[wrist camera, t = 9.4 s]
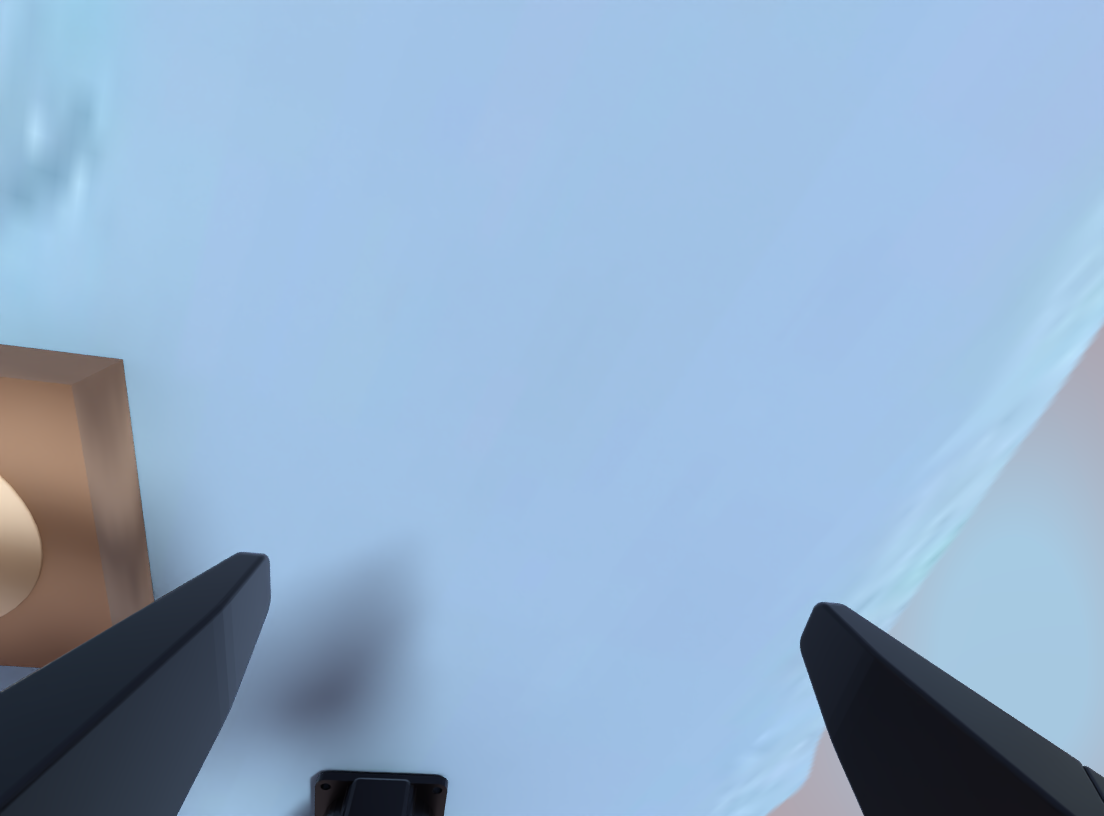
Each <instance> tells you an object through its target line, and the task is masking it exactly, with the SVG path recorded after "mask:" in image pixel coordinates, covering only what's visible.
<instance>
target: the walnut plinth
mask: <svg viewBox="0 0 1104 816" xmlns="http://www.w3.org/2000/svg"><path fill="white" fill-rule="evenodd" d="M152 602H154V596H153V589H152V581H151V573H150V565H149V558H148V550H147V542H146V535H145V527H144V519H143V512H142V504H141V496H140V489H139V481H138V473H137V466H136V458H135V450H134V442H133V435H132V427H131V419H130V412H129V404H128V396H127V389H126V381H125V373H124V366H123V360H122V359H114V358H106V357H98V356H90V355H82V354H74V353H66V352H58V351H50V350H42V349H34V348H26V347H18V346H10V345H2V344H0V665H2V666H19V667H37V668H42V667H44V666H45V665H47V664H49V663H50V662H52V661H54V660H55V659H57V658H59V657H61V656H62V655H64V654H66V653H67V652H69V651H71V650H72V649H74V648H76V647H78V646H79V645H81V644H83V643H84V642H86V641H88V640H89V639H91V638H93V637H95V636H96V635H98V634H100V633H101V632H103V631H105V630H106V629H108V628H110V627H112V626H113V625H115V624H117V623H118V622H120V621H122V620H124V619H125V618H127V617H129V616H130V615H132V614H134V613H135V612H137V611H139V610H141V609H142V608H144V607H146V606H147V605H149V604H151V603H152Z"/></svg>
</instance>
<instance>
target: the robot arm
mask: <svg viewBox="0 0 1104 816" xmlns="http://www.w3.org/2000/svg"><path fill="white" fill-rule="evenodd" d="M270 599H271V588H270V561H269V558H268V556H266V555H265V554H261V553H250V552H239V553H236V554H234V555H232V556H231V557H229V558H227V559H226V560H224V561H222V562H220V563H219V564H217V565H215V566H214V567H212V568H210V569H209V570H207V571H205V572H203V573H202V574H200V575H198V576H197V577H195V578H193V579H192V580H190V581H188V582H186V583H185V584H183V585H181V586H180V587H178V588H176V589H175V590H173V591H171V592H169V593H168V594H166V595H164V596H163V597H161V598H159V599H158V600H156V601H154V602H152V603H151V604H149V605H147V606H146V607H144V608H142V609H141V610H139V611H137V612H135V613H134V614H132V615H130V616H129V617H127V618H125V619H124V620H122V621H120V622H118V623H117V624H115V625H113V626H112V627H110V628H108V629H106V630H105V631H103V632H101V633H100V634H98V635H96V636H95V637H93V638H91V639H89V640H88V641H86V642H84V643H83V644H81V645H79V646H78V647H76V648H74V649H72V650H71V651H69V652H67V653H66V654H64V655H62V656H61V657H59V658H57V659H55V660H54V661H52V662H50V663H49V664H47V665H45V666H44V667H42V668H40V669H38V670H37V671H35V672H33V673H32V674H30V675H28V676H27V677H25V678H23V679H21V680H20V681H18V682H16V683H15V684H13V685H11V686H10V687H8V688H6V689H4V690H3V691H1V692H0V816H177V814H178V812H179V810H180V808H181V806H182V804H183V802H184V800H185V798H186V796H187V794H188V792H189V790H190V788H191V787H192V785H193V783H194V781H195V779H196V777H197V775H198V773H199V771H200V769H201V767H202V765H203V763H204V761H205V759H206V757H207V755H208V753H209V751H210V749H211V747H212V745H213V744H214V742H215V740H216V738H217V736H218V734H219V732H220V730H221V728H222V726H223V724H224V722H225V720H226V717H227V715H228V713H229V711H230V709H231V706H232V704H233V701H234V699H235V697H236V694H237V692H238V689H239V686H240V684H241V681H242V678H243V676H244V673H245V671H246V668H247V665H248V663H249V660H250V658H251V655H252V652H253V650H254V647H255V645H256V642H257V639H258V637H259V634H260V631H261V629H262V626H263V624H264V621H265V618H266V616H267V613H268V610H269V606H270ZM800 649H801V654H802V657H803V660H804V663H805V666H806V669H807V672H808V675H809V678H810V681H811V683H812V686H813V689H814V692H815V695H816V698H817V701H818V704H819V707H820V710H821V713H822V716H823V719H824V722H825V725H826V728H827V730H828V733H829V736H830V739H831V741H832V743H833V746H834V748H835V751H836V753H837V756H838V758H839V760H840V763H841V765H842V767H843V769H844V771H845V774H846V776H847V778H848V781H849V783H850V785H851V788H852V790H853V792H854V794H855V796H856V799H857V801H858V803H859V806H860V808H861V810H862V812H863V815H864V816H1104V777H1102V776H1101V775H1099V774H1098V773H1096V772H1095V771H1093V770H1092V769H1090V768H1089V767H1087V766H1082V764H1081V763H1080V762H1079V761H1078V760H1077V759H1075V758H1074V757H1072V756H1071V755H1069V754H1068V753H1066V752H1065V751H1063V750H1062V749H1060V748H1058V747H1057V746H1055V745H1054V744H1053V743H1051V742H1050V741H1048V740H1047V739H1045V738H1044V737H1042V736H1041V735H1039V734H1037V733H1036V732H1034V731H1033V730H1032V729H1030V728H1028V727H1027V726H1025V725H1024V724H1022V723H1021V722H1020V721H1018V720H1017V719H1015V718H1014V717H1012V716H1011V715H1009V714H1007V713H1006V712H1004V711H1003V710H1002V709H1000V708H998V707H997V706H995V705H994V704H992V703H991V702H989V701H988V700H986V699H985V698H983V697H982V696H980V695H979V694H977V693H976V692H974V691H973V690H971V689H970V688H968V687H967V686H965V685H964V684H962V683H961V682H959V681H958V680H956V679H955V678H953V677H952V676H950V675H949V674H947V673H946V672H944V671H943V670H941V669H940V668H938V667H937V666H935V665H934V664H932V663H931V662H929V661H928V660H926V659H925V658H923V657H922V656H920V655H919V654H917V653H916V652H914V651H913V650H911V649H910V648H908V647H907V646H905V645H904V644H902V643H901V642H899V641H898V640H896V639H895V638H893V637H892V636H890V635H889V634H887V633H886V632H884V631H883V630H881V629H880V628H878V627H877V626H875V625H874V624H872V623H871V622H869V621H868V620H866V619H865V618H863V617H862V616H860V615H859V614H857V613H856V612H854V611H853V610H851V609H850V608H848V607H847V606H845V605H843V604H839V603H829V602H820V603H818V604H817V605H815V606H814V608H813V610H812V613H811V615H810V617H809V619H808V622H807V624H806V626H805V629H804V631H803V633H802V636H801V639H800ZM447 788H448V780H447V779H446V778H444V777H441V776H420V775H393V774H367V773H341V772H324V773H321V774H320V775H319V776H318V779H317V782H316V785H315V816H444V810H445V803H446V796H447Z"/></svg>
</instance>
